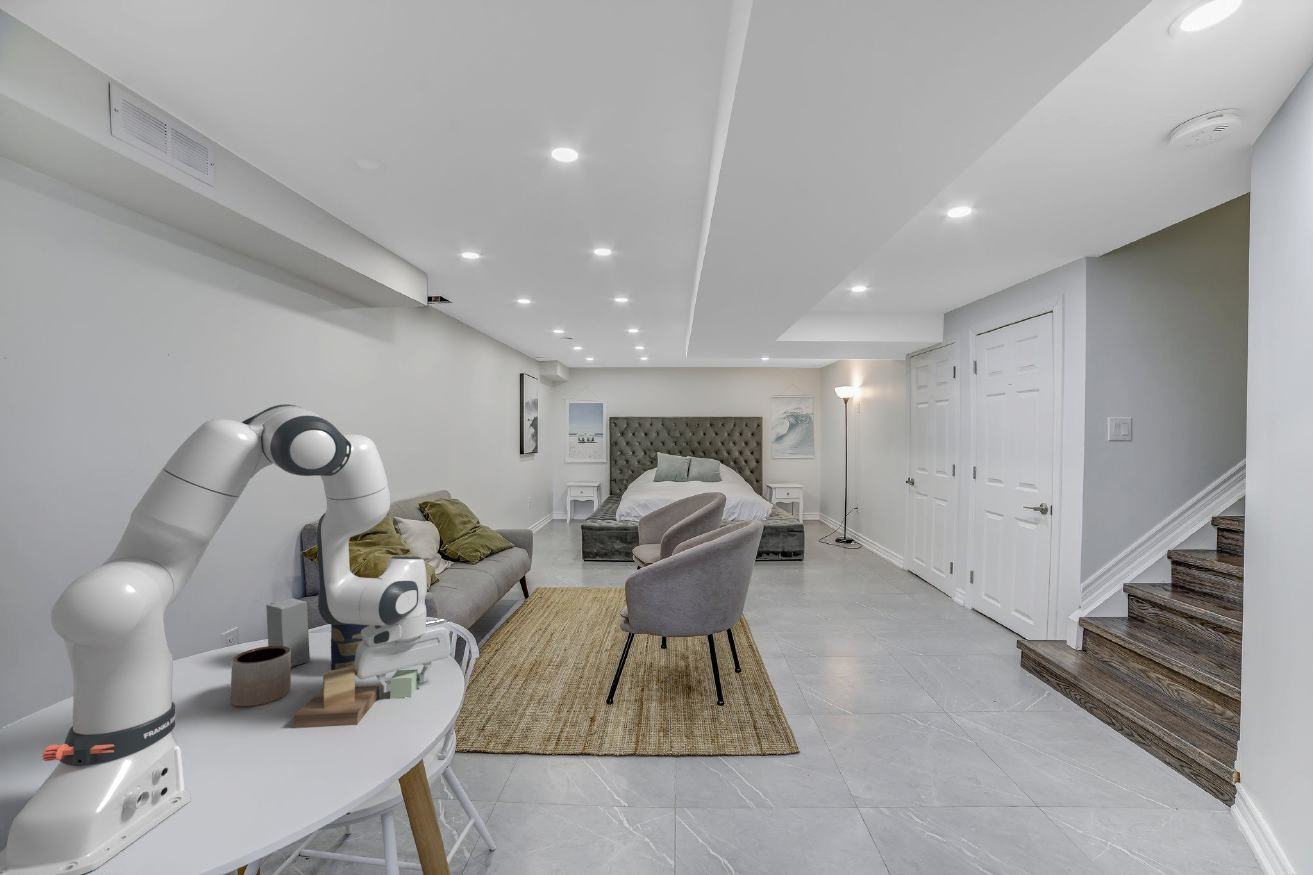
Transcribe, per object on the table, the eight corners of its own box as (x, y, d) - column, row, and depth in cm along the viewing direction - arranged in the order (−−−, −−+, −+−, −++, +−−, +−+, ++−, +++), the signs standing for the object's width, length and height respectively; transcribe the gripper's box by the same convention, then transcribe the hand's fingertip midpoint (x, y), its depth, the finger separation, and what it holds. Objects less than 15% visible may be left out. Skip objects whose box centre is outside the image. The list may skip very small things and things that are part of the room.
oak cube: (354, 701, 114) (355, 675, 114) (324, 708, 111) (324, 681, 111) (352, 691, 118) (352, 666, 118) (323, 697, 115) (323, 672, 115)
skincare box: (310, 662, 140) (311, 601, 140) (279, 671, 134) (281, 608, 134) (294, 655, 144) (295, 595, 144) (264, 664, 138) (265, 602, 138)
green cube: (411, 697, 121) (411, 677, 121) (390, 698, 120) (390, 678, 121) (417, 688, 126) (417, 669, 126) (396, 689, 125) (397, 670, 125)
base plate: (357, 724, 109) (357, 712, 109) (293, 727, 108) (293, 715, 108) (379, 696, 121) (379, 685, 121) (321, 699, 120) (322, 688, 120)
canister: (370, 674, 133) (372, 601, 133) (326, 680, 129) (328, 605, 129) (375, 659, 142) (376, 591, 142) (334, 664, 138) (335, 594, 138)
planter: (301, 687, 125) (302, 646, 126) (263, 710, 115) (264, 665, 115) (259, 684, 127) (260, 643, 127) (216, 707, 116) (218, 662, 116)
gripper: (445, 613, 132) (444, 669, 132) (352, 631, 119) (351, 694, 119) (455, 619, 128) (454, 678, 128) (360, 639, 114) (358, 705, 114)
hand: (404, 686), depth 123 cm, fingers closed on green cube, 6 cm apart
